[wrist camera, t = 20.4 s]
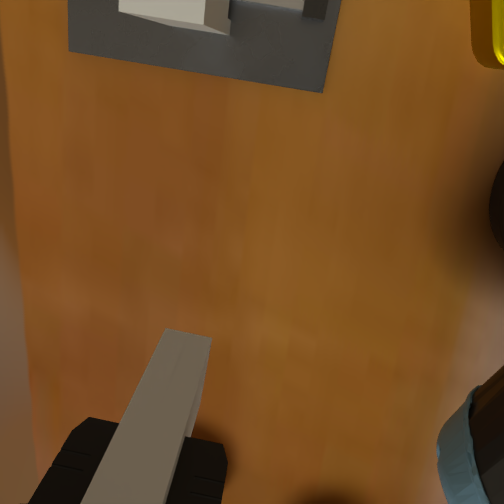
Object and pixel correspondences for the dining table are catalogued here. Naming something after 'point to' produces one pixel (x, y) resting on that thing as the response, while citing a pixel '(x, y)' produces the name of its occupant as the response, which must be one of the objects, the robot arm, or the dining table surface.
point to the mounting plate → (218, 40)
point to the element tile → (488, 32)
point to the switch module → (182, 13)
